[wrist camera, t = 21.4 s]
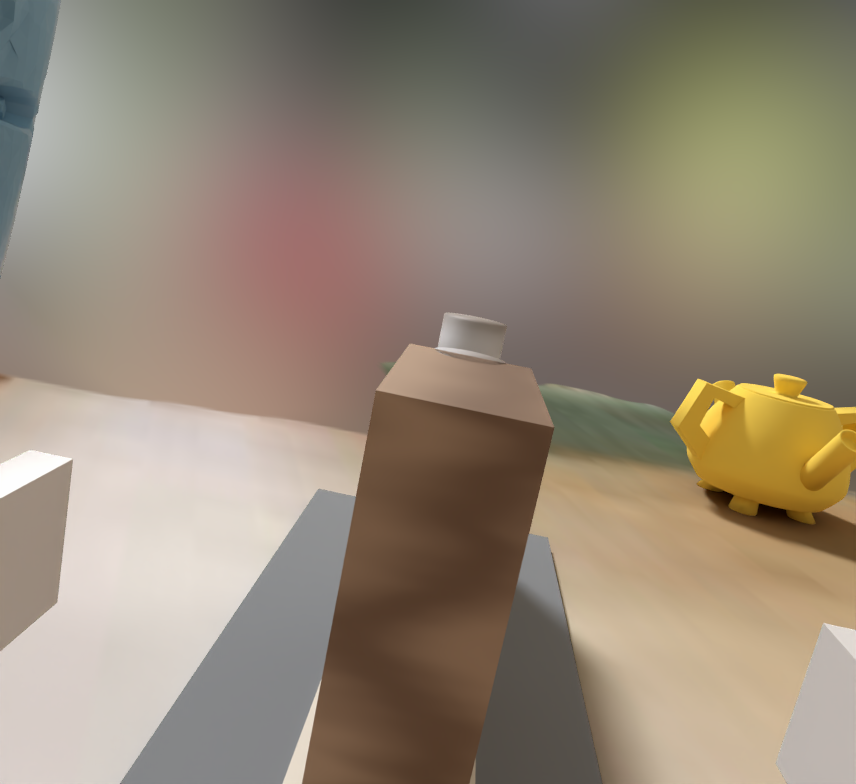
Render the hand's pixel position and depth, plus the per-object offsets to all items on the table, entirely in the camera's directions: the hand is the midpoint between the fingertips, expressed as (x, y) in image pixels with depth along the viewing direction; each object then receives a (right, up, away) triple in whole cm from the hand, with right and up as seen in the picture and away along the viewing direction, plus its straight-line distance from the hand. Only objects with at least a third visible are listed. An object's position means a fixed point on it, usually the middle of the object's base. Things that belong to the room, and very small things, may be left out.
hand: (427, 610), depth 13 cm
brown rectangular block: (-1, -7, +12) cm, 14 cm away
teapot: (+28, -6, +53) cm, 60 cm away
